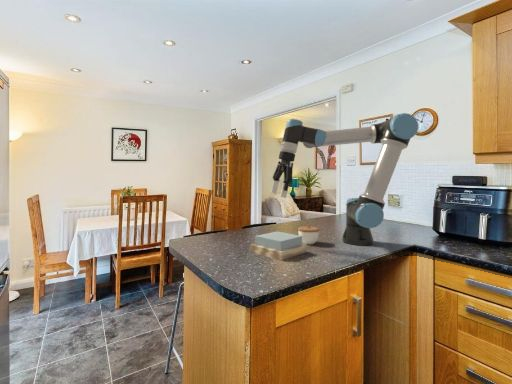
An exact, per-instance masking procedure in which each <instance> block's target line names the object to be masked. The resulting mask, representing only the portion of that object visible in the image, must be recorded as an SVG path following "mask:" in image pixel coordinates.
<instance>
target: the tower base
mask: <svg viewBox="0 0 512 384" xmlns="http://www.w3.org/2000/svg"><path fill="white" fill-rule="evenodd" d="M307 245H308V244H303V243H302V245H300V246H296V247H293V248H289V249H286V250H282V251H278V250H274V249H270V248H267V247H263V246H259V245H255V243H252V244H250V246H249V247H250V253H253V254H256V255H260V256H264V257H268V258H271V259H274V260H278V261H283V260H287V259H289V258H293V257H296V256H300V255H302V254H304V253H307Z"/></svg>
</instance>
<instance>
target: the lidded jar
mask: <svg viewBox="0 0 512 384" xmlns="http://www.w3.org/2000/svg"><path fill="white" fill-rule="evenodd" d="M297 230H298V233H297V234H298V235H299V236H302V244H305V245H315V243H316V242H317V241H318V239H319V237H320V236H319V235H320V228H319V227H316V226H311V225H310V224H307V226H300V227H298V228H297Z"/></svg>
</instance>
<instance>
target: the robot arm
mask: <svg viewBox="0 0 512 384" xmlns="http://www.w3.org/2000/svg"><path fill="white" fill-rule="evenodd" d="M285 124H286V125H285V127H284V132H283V138H282V142H281V143H280V146H281V147H280V152H279V154H278V159H279V161H278V162H277V166H276V167H275V170H274V173H273V175H272V179H273V183H272V186H271V192H270V193H271V194H274V195H277V192H278V188H279V182H281V177H282V176H283V181H282V186H281V191H280V196H279V197H280V198H283V199H287V195H288V191H289V187H290V184H292V183H293V168H294V162H295V157H296V153H297V150H298V147H299V146H298V145H299V143H302V144H303V146H304V148H307V149H313V148H317V147H318V148H319V147H328V146H329V147H330V146H337V145H340V146H341V145H349V144H360V143H371V144H374V145H375V144H381V145H382V146H381V148H380V150H379V154H378V156H377V158H376V161H375V164H374V167H373V169H372V172H371V175H370V178H369V180H368V182H367V185H366V188H365V191H364V192H363V193H361V194H360V195H359V196H358V197H350V198H348V199H346V204H345V206H346V208H345V209H346V212H345V213H346V216H345V217H346V218H345V220H346V221H345V229H344V232H343V234H342V240H341V241H342V242H343V243H346V244H349V245H354V246H369V245H373V244H374V238H373V234H372V231H371V229H374V228H377V227H379V225H381V224H382V222H383V220H384V219H385V217H384V216H385V213H384V208H385V206H386V202H385V200H384V197H385V195H386V192H387V189H388V188H389V185H390V182H391V180H392V177H393V174H394V172H395V169H396V167H397V164H398V161H399V159H400V156H401V155H402V151H403V150H405V149H407V148H408V146H409V143H410V141H411V139H412V138H413V137H414V136H416V135H417V133H418V130H419V123H418V121H417V118H416V117H415V116H413V114H410V113H406V112H403V113H399V114H398V113H397V114H395V115H394V116H392V117H390V118H389V119H386V120H385V121H382V122H379V123H375V124H371V125H370V126H365V127H364V126H363V127H353V128H345V129H344V128H343V129H336V130H335V129H334V130H323V129H320V128H319V129H318V128H313V127H308V126H304V125H303V121H302V120H300V119H297V118H289V119H288V120H287V121H286V123H285ZM280 160H281V161H280Z"/></svg>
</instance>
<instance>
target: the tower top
mask: <svg viewBox="0 0 512 384" xmlns="http://www.w3.org/2000/svg"><path fill="white" fill-rule="evenodd" d="M254 237H255V239H254V244H255V245H259V246H263V247H267V248H270V249H274V250H278V251H282V250H286V249H289V248H293V247H296V246H300V245H302V244H303V242H302V236H299V234H298V235H297V234H293V233H287V232H282V231H273V232H267V233H263V234H257V235H255V236H254Z"/></svg>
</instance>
